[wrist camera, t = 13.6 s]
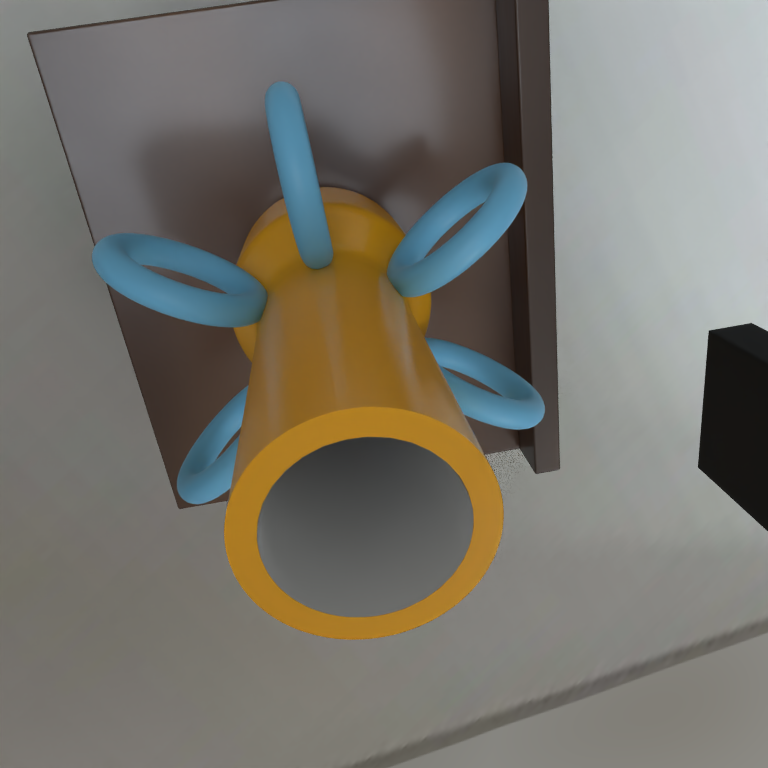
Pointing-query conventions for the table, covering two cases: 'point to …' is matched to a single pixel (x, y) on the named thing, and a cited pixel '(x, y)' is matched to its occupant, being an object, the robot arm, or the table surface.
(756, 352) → the robot arm
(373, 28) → the stand
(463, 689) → the table surface
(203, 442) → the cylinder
